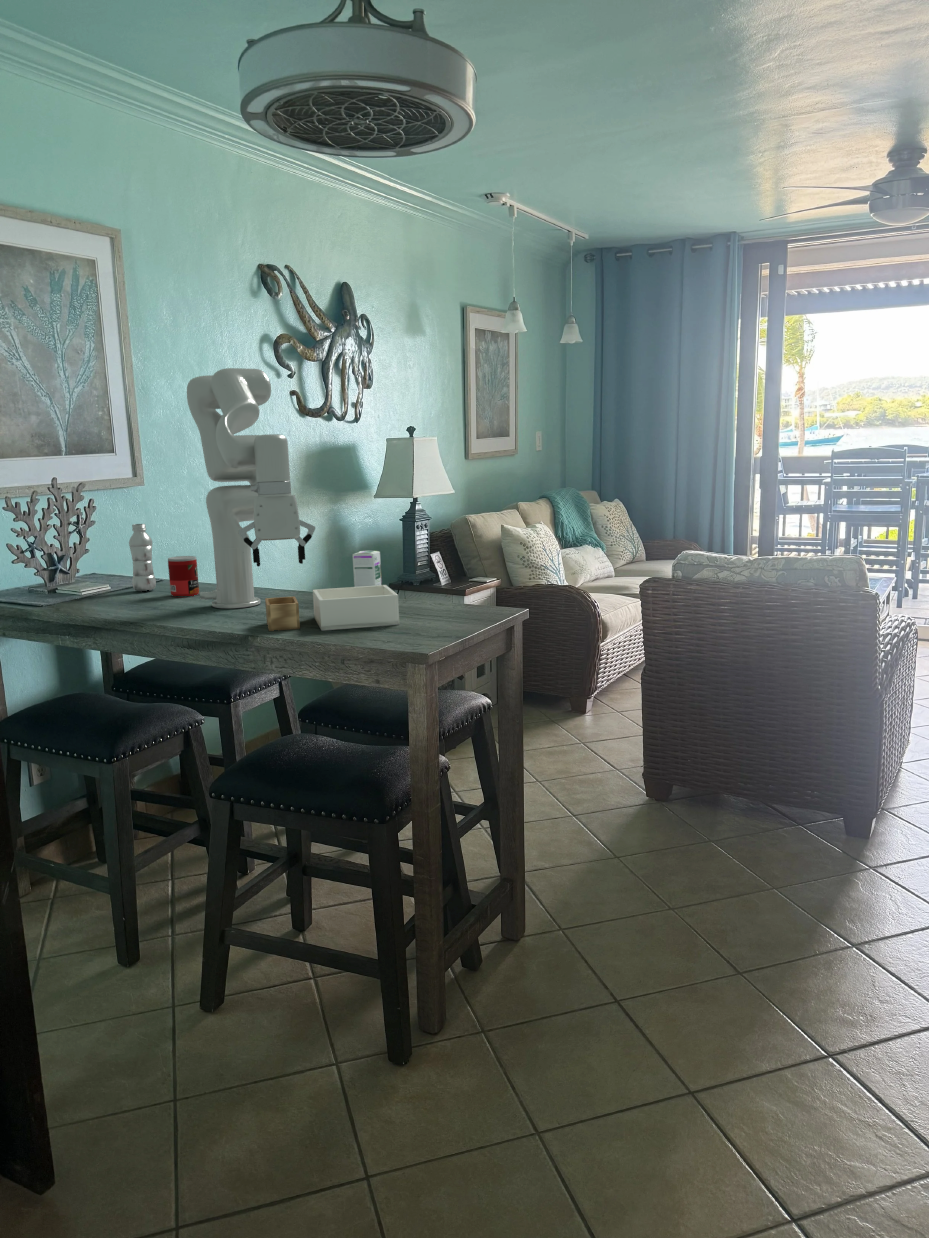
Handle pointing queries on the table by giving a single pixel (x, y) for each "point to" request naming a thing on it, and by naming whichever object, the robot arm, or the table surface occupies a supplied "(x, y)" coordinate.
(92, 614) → the table surface
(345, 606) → the plastic crate
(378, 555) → the syrup box
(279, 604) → the wooden crate
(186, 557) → the canned food
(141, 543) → the plastic bottle
